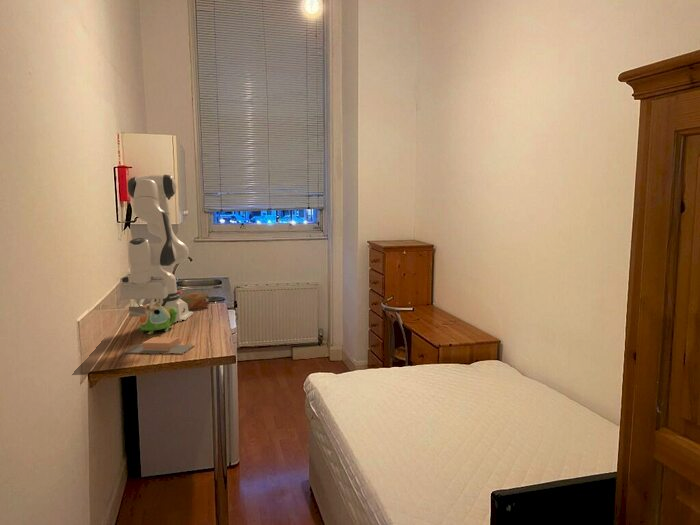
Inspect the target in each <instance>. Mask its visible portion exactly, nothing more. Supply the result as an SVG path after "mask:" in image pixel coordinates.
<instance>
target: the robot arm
mask: <svg viewBox="0 0 700 525" xmlns="http://www.w3.org/2000/svg"><path fill="white" fill-rule="evenodd" d="M126 187H127V192H128V194H129V196H130V197H131V198H132V199H133V202H132V203H133V204H132V206H133V213H134V215H135V216H136V217H137V218H138V219H140V220H141V221H144V222H146V226H147V231H148V233H149V234H151V235H153V236H155V237H158V238H160V239H161V242H155V243H152V242H151V243H149V240H148V239H147V238H144V237H143V238H142V237H138V238H133V239H131V240H130V241H128V250H127V251H128V262H129V264H130V274H129V273H128V274H127V275H125V276H121V278H120V279H119V282H120V286H119V294H120V298H121V299H122V300H135V303H136V304H137V306H138V307H141V306H144V305H145V304H143V303H142V300H148V302H149V303H150V304H149V303H148V304H149V305H147V307H148V309H153V305H152V304H153V303H154V302H158V304H159V305H161V306H162V307H163V308H165V309H166V310H167V312H168V313H169V310H170V309H171V308H172V307H175V308H176V310H177V311H178V313H177V314H176V319H175V321H174V323H178V322H183V321H182V320H185V321H186V319H187V318H188V319H189V318H191V316H193V315H194V312H193V311H190V310H189V309H188V305H187V303H186V302H184V301H183V300H182V298H181V296H180V295H182V294H183V292H182V290H178V288H177V287H178V286H177V280H176V276H175V275H174V274H173V273H171V272H170V271H166V270H165V269H163V267H164V266H166V267H170V266H171V265H178V264H181V263H185V262H187V260H188V258H189V255H190V251H189V247H188V246H187V245H186V244H185V242H182V241H181V240H180V239H179V238H178V237H177V236H176V235H175V232H174V230H173V226H172V219H171V208H170V203H169V200H171V198H172V197H174V196H175V195H176V191H177V182H176V180H175V178H174V177H173V175H170V174H150V175H143V176H142V175H141V176H134V177H130V178H129V180H128V181H127V186H126ZM162 266H163V267H162ZM169 316H170V313H169ZM188 319H187V320H188ZM177 321H178V322H177Z"/></svg>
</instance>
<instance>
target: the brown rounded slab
mask: <svg viewBox="0 0 700 525" xmlns="http://www.w3.org/2000/svg"><path fill="white" fill-rule="evenodd" d="M181 300H183V301H184V302H186V303H187V305H188V310H197V309H196V308H199V309H204V308H207V307H208V306H209V304H210V303H211V302H210V301H211V299H210V296H209V295H208V294H207V293H205V292H197V293H188V294H184V295H183V296H182V298H181Z"/></svg>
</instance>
